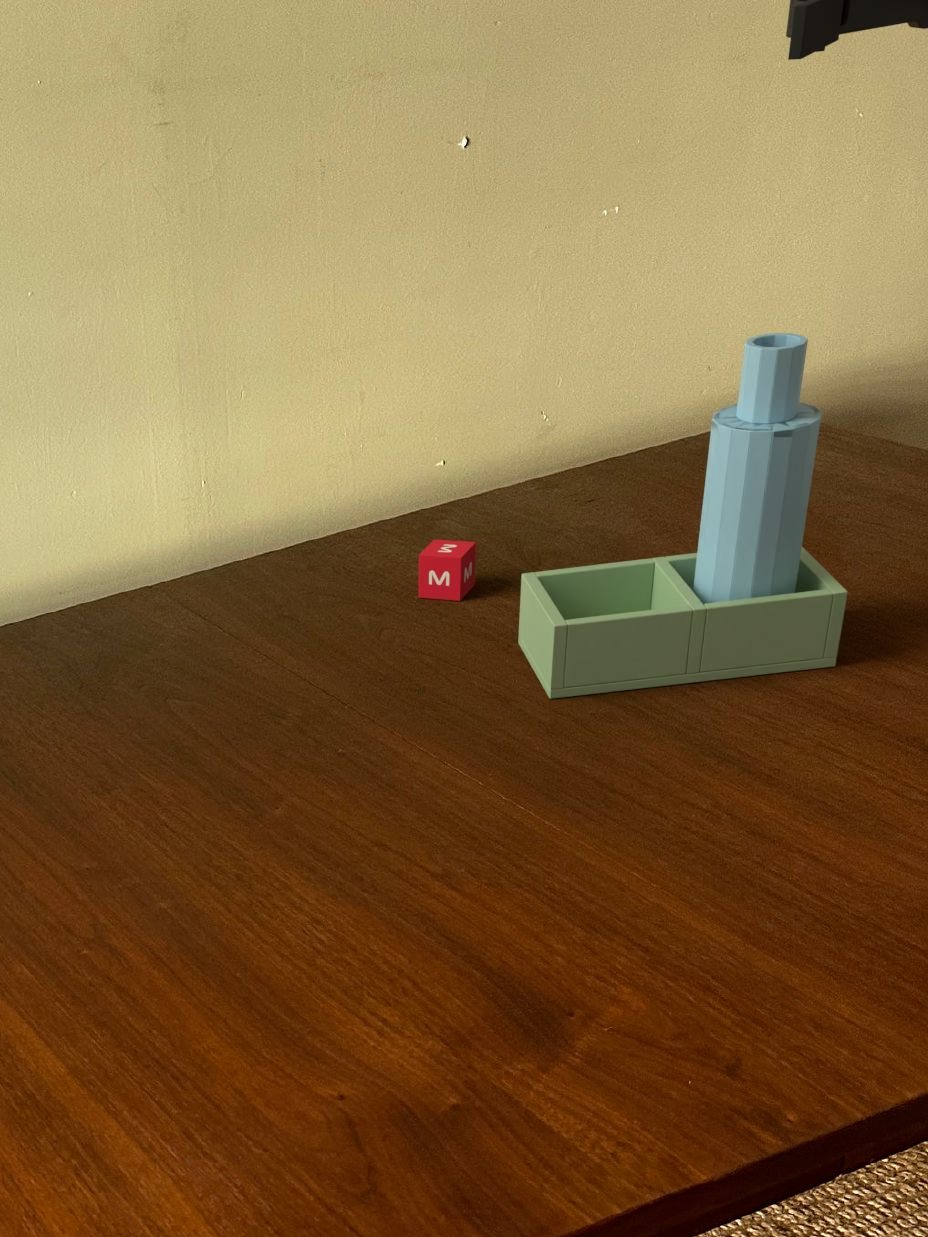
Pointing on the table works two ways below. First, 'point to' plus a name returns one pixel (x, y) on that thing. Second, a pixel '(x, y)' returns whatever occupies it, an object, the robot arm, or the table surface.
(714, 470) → the bottle
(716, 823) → the table surface
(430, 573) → the red letter cube
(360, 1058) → the table surface
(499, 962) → the table surface
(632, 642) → the holder
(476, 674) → the table surface
